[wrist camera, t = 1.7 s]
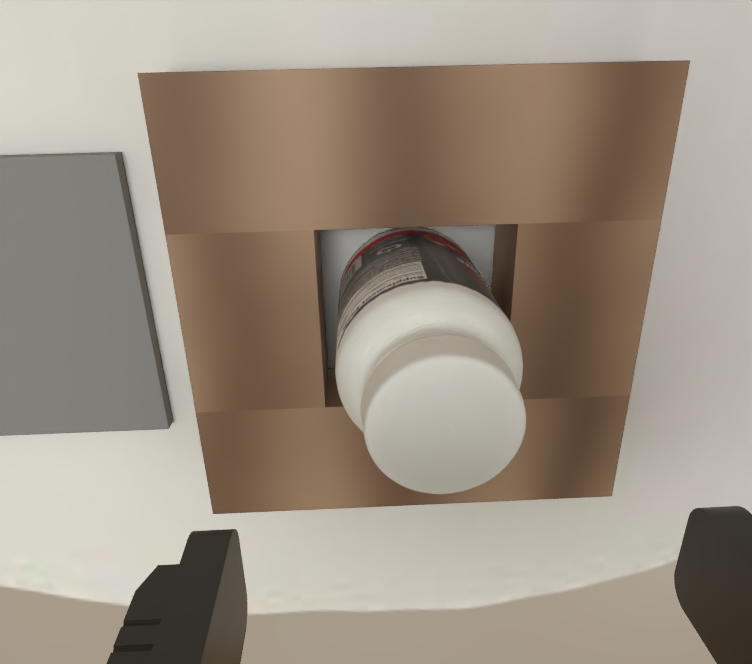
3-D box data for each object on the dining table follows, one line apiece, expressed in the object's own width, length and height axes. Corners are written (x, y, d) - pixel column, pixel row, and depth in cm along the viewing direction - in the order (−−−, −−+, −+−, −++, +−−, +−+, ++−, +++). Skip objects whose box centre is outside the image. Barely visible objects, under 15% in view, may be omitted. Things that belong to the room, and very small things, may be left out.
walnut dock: (643, 61, 20) (689, 60, 17) (584, 451, 27) (611, 495, 24) (167, 72, 20) (137, 72, 17) (227, 467, 26) (213, 513, 23)
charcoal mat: (121, 152, 20) (115, 154, 20) (172, 420, 25) (168, 428, 24) (-205, 161, 20) (-220, 163, 20) (-92, 431, 25) (-103, 439, 24)
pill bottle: (502, 302, 23) (595, 446, 15) (393, 376, 25) (419, 551, 16) (424, 193, 22) (476, 282, 13) (310, 279, 23) (285, 416, 14)
